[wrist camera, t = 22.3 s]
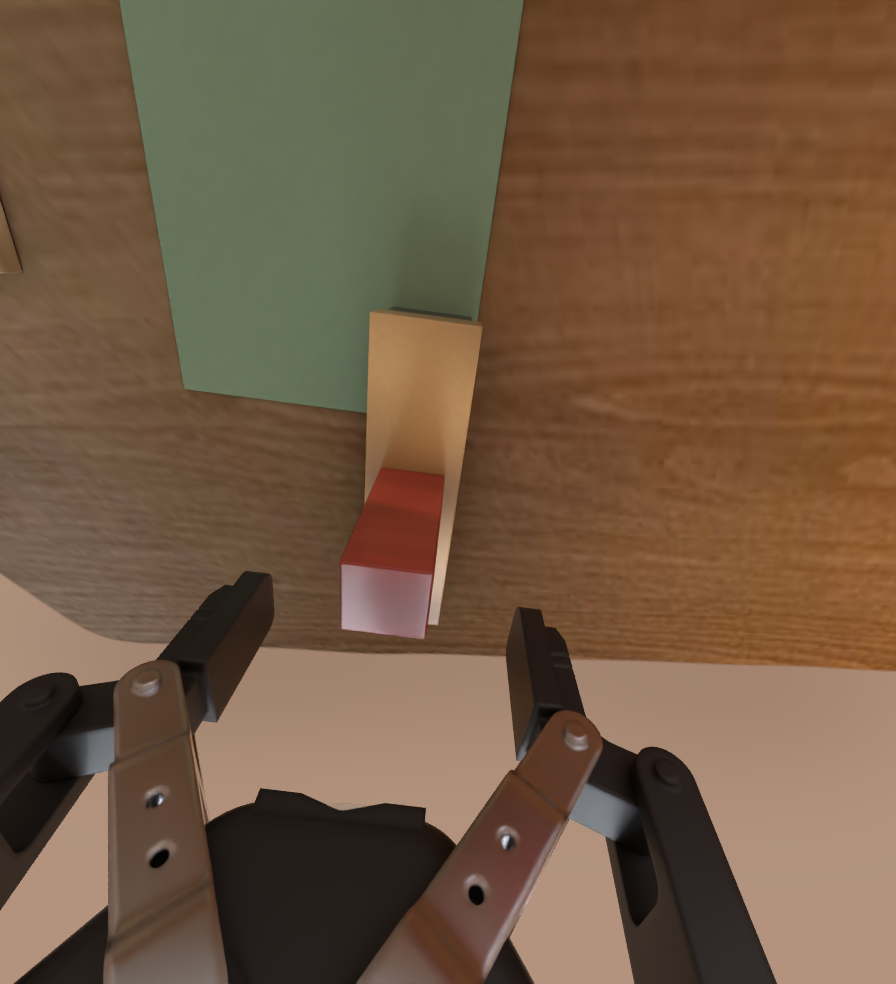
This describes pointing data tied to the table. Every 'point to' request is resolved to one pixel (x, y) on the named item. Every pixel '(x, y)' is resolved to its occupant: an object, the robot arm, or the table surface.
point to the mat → (317, 176)
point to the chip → (7, 248)
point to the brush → (409, 469)
